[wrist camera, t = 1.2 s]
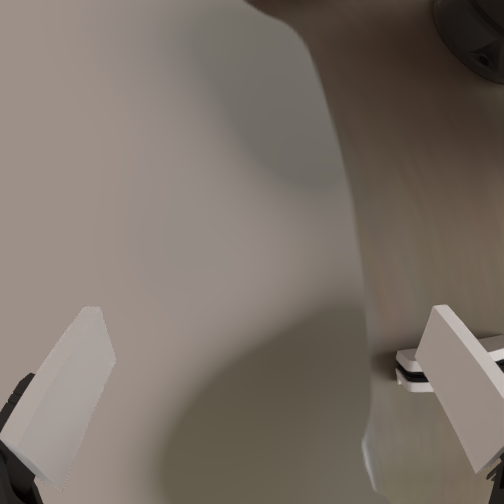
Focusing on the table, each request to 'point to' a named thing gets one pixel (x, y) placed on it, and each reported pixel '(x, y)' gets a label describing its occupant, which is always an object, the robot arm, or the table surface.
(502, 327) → the table surface
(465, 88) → the table surface
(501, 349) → the white black curved block
